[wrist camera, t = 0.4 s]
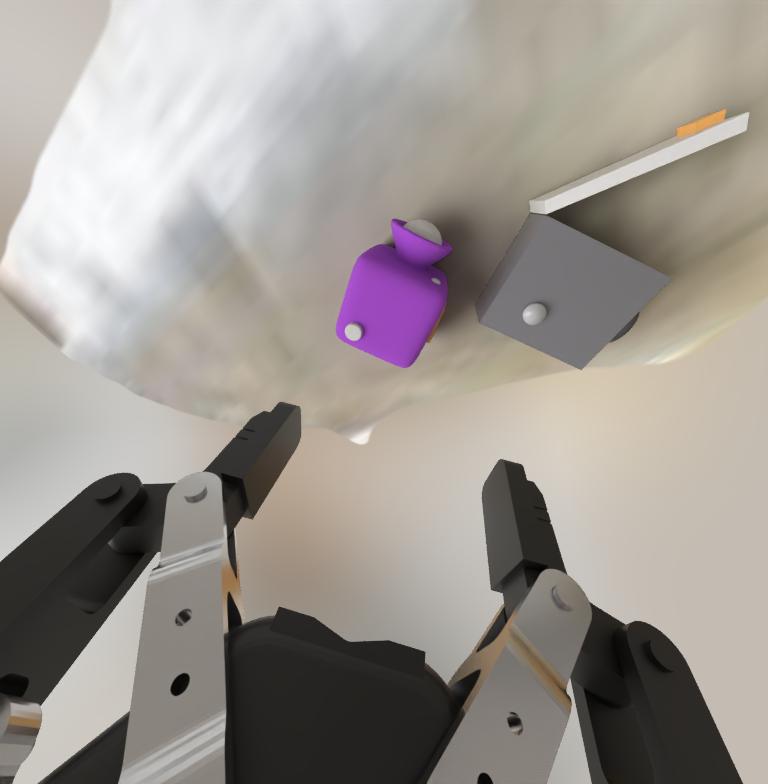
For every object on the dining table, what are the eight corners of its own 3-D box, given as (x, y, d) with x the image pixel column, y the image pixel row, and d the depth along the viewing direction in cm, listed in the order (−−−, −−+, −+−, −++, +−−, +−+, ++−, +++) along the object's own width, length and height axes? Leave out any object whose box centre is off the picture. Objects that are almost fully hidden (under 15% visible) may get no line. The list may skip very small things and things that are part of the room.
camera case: (530, 213, 28) (549, 216, 22) (644, 270, 29) (689, 286, 23) (475, 305, 34) (479, 324, 28) (571, 350, 34) (593, 377, 29)
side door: (528, 194, 27) (543, 192, 22) (692, 119, 22) (751, 99, 18) (530, 212, 27) (546, 214, 23) (690, 143, 23) (746, 130, 19)
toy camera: (467, 226, 29) (474, 236, 21) (431, 342, 37) (426, 382, 29) (369, 203, 30) (339, 204, 22) (353, 323, 38) (327, 356, 30)
